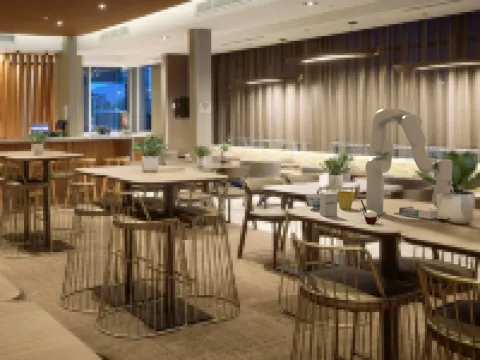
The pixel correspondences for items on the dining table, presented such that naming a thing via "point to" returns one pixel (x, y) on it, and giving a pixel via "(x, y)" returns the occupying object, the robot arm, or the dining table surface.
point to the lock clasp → (428, 213)
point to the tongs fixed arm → (408, 211)
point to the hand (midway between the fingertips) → (442, 217)
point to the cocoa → (370, 215)
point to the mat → (417, 217)
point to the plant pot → (345, 199)
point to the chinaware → (314, 200)
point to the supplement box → (328, 204)
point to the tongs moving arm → (412, 209)
